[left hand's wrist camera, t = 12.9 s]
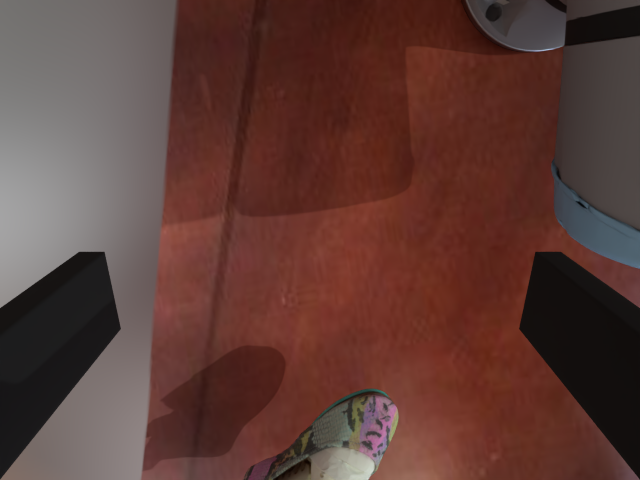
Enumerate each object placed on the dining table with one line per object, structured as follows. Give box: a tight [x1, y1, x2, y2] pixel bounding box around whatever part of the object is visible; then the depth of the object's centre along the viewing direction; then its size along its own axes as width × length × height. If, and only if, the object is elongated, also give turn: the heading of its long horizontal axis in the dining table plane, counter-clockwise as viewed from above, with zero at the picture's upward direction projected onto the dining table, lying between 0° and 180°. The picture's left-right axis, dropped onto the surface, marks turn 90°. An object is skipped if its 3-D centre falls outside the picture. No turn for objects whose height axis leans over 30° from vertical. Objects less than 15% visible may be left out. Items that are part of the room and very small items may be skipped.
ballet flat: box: [243, 389, 398, 480], centre depth 43 cm, size 8×24×9 cm, turn 138°
